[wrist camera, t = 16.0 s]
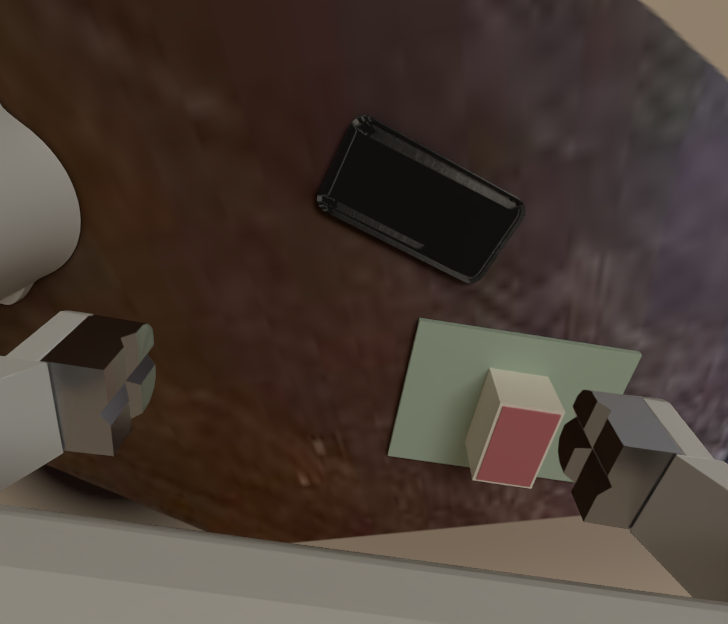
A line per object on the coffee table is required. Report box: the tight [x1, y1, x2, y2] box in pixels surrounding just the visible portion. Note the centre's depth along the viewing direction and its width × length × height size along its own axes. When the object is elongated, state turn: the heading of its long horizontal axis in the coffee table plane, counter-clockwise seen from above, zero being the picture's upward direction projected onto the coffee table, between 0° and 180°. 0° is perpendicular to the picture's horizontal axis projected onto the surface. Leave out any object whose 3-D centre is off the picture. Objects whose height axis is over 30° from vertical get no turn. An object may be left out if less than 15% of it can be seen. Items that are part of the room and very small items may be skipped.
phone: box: [317, 115, 525, 283], centre depth 39 cm, size 8×1×15 cm
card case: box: [465, 368, 565, 488], centre depth 46 cm, size 9×6×5 cm, turn 171°
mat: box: [388, 318, 642, 482], centre depth 48 cm, size 20×16×1 cm
